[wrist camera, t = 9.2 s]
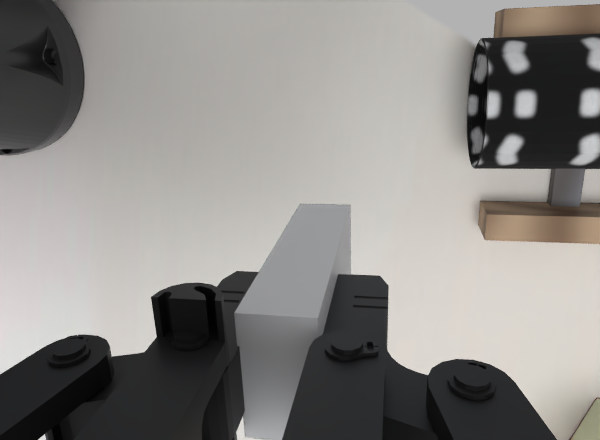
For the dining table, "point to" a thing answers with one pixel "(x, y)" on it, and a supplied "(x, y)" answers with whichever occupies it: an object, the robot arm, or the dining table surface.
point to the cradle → (564, 182)
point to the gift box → (589, 424)
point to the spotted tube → (535, 103)
